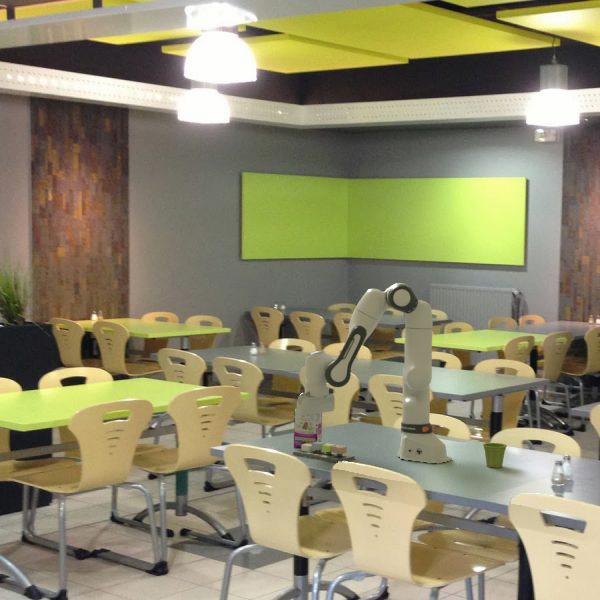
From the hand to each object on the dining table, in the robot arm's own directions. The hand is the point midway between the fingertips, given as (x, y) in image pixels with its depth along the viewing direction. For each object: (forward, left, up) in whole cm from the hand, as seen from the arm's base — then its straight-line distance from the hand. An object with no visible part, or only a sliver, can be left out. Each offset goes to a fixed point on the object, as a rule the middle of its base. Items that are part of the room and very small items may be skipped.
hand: (315, 424), depth 455 cm
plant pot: (-64, -34, -13) cm, 73 cm away
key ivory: (+3, 0, -12) cm, 13 cm away
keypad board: (-5, 0, -13) cm, 13 cm away
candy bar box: (+12, -10, -13) cm, 20 cm away
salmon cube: (-13, 0, -11) cm, 17 cm away
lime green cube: (-8, 0, -11) cm, 13 cm away
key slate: (-2, 0, -11) cm, 11 cm away
